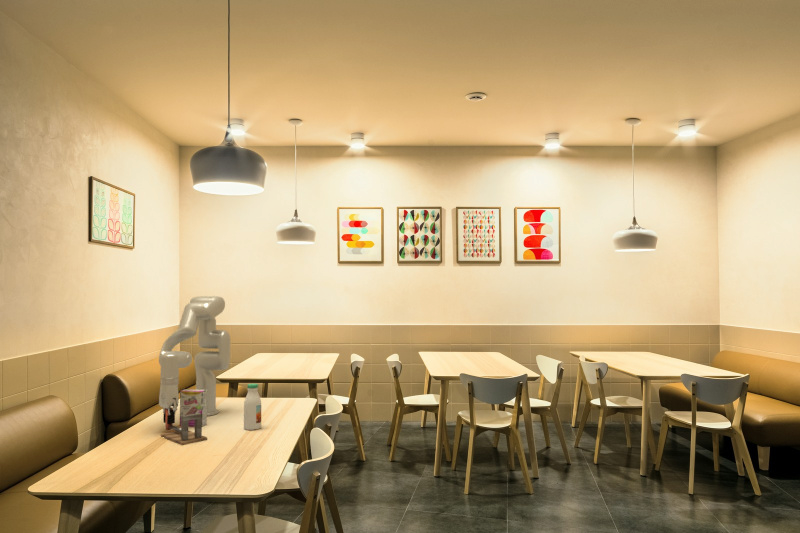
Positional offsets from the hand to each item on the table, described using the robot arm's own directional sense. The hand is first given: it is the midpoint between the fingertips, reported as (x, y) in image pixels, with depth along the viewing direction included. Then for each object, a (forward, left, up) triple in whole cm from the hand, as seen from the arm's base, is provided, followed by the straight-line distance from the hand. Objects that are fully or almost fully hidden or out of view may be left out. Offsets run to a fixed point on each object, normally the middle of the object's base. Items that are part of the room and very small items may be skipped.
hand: (169, 422), depth 247 cm
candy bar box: (-4, +13, -4) cm, 14 cm away
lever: (+7, 0, -3) cm, 8 cm away
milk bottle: (+21, +29, -4) cm, 36 cm away
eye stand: (+14, 0, -4) cm, 15 cm away
